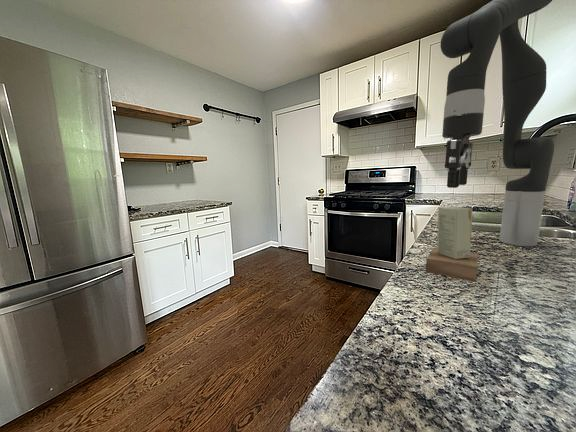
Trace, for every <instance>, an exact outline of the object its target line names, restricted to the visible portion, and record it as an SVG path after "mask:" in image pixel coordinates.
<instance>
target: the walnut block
mask: <svg viewBox="0 0 576 432" xmlns="http://www.w3.org/2000/svg"><path fill="white" fill-rule="evenodd" d="M478 261H479V253H471V252H470V257H469V258H461V259H454V258H451V257H448V256H446V255H443V254H440V253H438V252H437V247H433V248H432V249H431V251H430V253H429V254H428V256H427V257H426V263H425V264H426V265H425V273H430V274H434V275H439V276H444V277H450V278H454V279H455V278H456V279H460V280H465V281H470V282H476V281H477V273H478Z"/></svg>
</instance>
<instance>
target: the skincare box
mask: <svg viewBox="0 0 576 432" xmlns="http://www.w3.org/2000/svg"><path fill="white" fill-rule="evenodd" d="M437 210H438V211H437V246H436V248H437V252H438V253H440V254H443V255H446V256H448V257H451V258H454V259H461V258H469V257H470V253H471V252H472V251H471V250H472V229H473V228H472V227H473V208H470V207H461V206H453V205H450V206H449V205H448V206H439V207H438V209H437Z"/></svg>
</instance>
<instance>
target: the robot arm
mask: <svg viewBox="0 0 576 432" xmlns="http://www.w3.org/2000/svg"><path fill="white" fill-rule="evenodd" d="M552 1H553V0H491V1H490V2H488V3H486V4H484V5H483V6H482V7H480V8H479V9H478V10H476V11H475V12H473V13H471V14H469V15H467V16H465V17H463V18H460V19H458V20H456V21H454V22H453V23H450V25H449V26H447V28H446V29H445V30H444V33H443V34H442V36H441V39H440V51H441V53H442V55H444V57H446V58H448V59H456V58H461V57H462V56H465V55H468V54H469V55H468V56H467V57H466V59H465V60H464V61H462V62H460V63H459V64H457V65H456V66H454V67H453V68H452V69H450V70H449V72H448V74H447V75H448V76H447V82H446V83H447V85H446V95H445V96H446V97H445V102H444V109H443V121H442V135H441V136H442V138H444V139H450V140H447V141H446V152H445V164H444V168H445V169H446V171H447V177H446V178H447V181H446V187H447V188H449V189H456V188H459V187H460V186H465V185H467V183H468V172H469V169H470V167H471V165H472V155H473V154H472V152H473V146H474V144H473V143H474V142H473V141H470V138H471V137H477V136H480V135H481V134H483V125H484V113H485V104H486V97H485V88H486V80H487V79H486V78H487V70H488V67H489V64H490V61H491V58H492V55H493V52H494V50H495V47H496V46H497V45H496V44H497V42H498V40H500V41H499V42H500V49H501V51H500V52H501V67H502V68H501V76H502V77H501V81H502V82H501V85H502V87H501V89H502V101H503V102H502V103H503V120H504V121H503V122H504V123H503V139H502V140H503V142H502V161H503V164H504V166H505V168H506V169H509V170H526V169H527V170H529V172H528V173H527V174H525V175H524V176H522V177H520V178H516V179H512V180H508V181H507V182H506V185H505V191H504V200H503V206H502V207H503V209H502V215H501V216H502V217H501V226H500V231H499V232H500V233H499V239H498V240H499V242H500V243H501V242H502V243H505V244H507V245H511V246H518V247H536V246H538V241H539V236H540V229H541V222H542V216H543V208H544V202H545V194H546V187H547V185H548V181H549V175H550V171H551V167H552V162H553V157H554V151H555V143H554V140H553V139H552V138H551V137H548V136H541V137H532V138H531V137H530V138H522V134H523V128H524V124H525V122H526V120H527V119H528V117H529V115H531V113H532V111H533V110H534V109H535V108H536V106H537V105H538V103H539V102H540V100H541V99H542V98H543V96H544V93H546V92H545V91H546V89H547V63H546V60H545V59H544V58H543V57H542V56H541V55H540V54H539V53H538V52H537V51H536V50H535V49H534V48H532V47H531V46H530V45H529V44H528V43H527V42H526V40H524V38H523V36H522V34H521V32H520V29H519V20H520V19H523V18H525V17H527V16H529V15H531V14H534V13H536V12H539V11H541V10H542V9H544V8H546V7H547V6H548V5H549V4H551V3H552Z"/></svg>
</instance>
